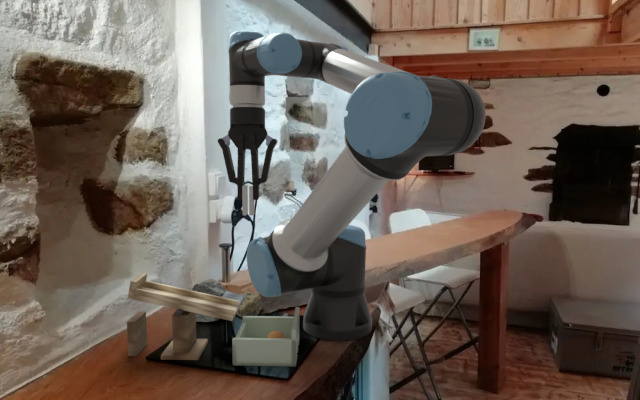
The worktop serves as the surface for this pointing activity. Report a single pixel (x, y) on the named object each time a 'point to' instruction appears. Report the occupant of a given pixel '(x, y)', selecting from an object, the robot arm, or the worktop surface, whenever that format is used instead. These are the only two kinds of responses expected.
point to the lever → (185, 299)
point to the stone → (213, 289)
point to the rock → (250, 305)
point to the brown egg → (275, 334)
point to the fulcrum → (179, 347)
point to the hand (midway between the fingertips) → (248, 214)
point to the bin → (267, 341)
